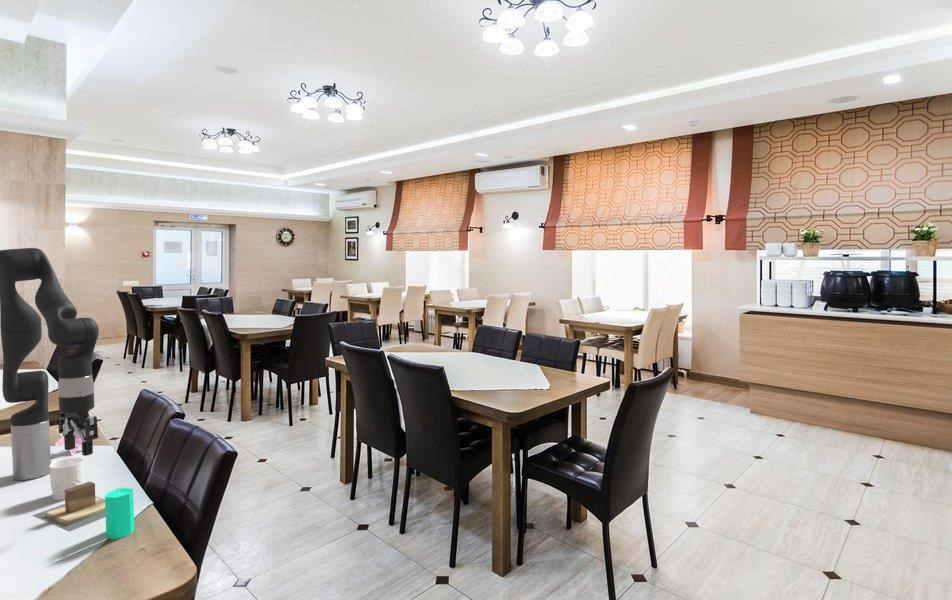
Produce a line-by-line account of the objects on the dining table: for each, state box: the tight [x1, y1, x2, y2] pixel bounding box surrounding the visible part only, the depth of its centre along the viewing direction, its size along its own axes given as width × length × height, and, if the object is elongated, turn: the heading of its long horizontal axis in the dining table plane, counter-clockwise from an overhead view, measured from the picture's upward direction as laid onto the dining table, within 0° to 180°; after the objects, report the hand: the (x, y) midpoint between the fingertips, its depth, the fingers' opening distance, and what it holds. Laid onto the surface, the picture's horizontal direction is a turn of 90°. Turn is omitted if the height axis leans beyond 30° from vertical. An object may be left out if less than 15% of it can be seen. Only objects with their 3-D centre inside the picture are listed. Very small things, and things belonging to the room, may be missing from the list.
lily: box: [54, 428, 85, 455], centre depth 185 cm, size 12×12×10 cm
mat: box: [32, 495, 106, 532], centre depth 140 cm, size 18×14×1 cm
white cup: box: [49, 457, 85, 501], centre depth 150 cm, size 8×8×10 cm
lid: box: [46, 481, 105, 525], centre depth 139 cm, size 11×11×7 cm
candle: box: [104, 487, 135, 540], centre depth 130 cm, size 6×6×12 cm
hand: (78, 452), depth 139 cm, fingers open, 8 cm apart
